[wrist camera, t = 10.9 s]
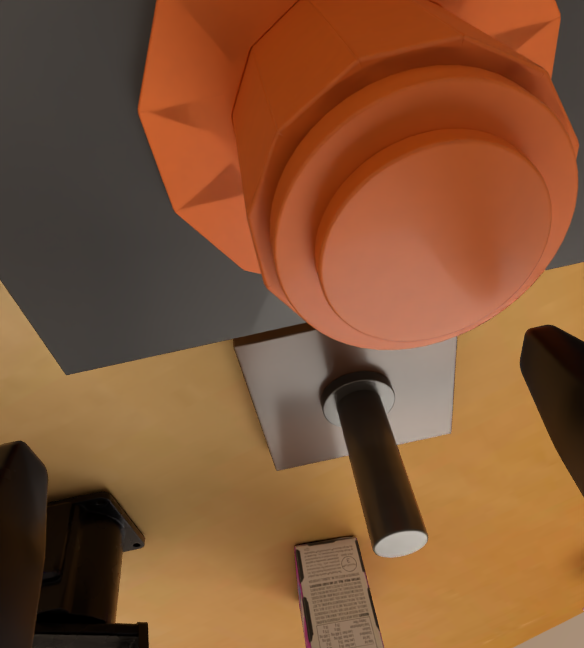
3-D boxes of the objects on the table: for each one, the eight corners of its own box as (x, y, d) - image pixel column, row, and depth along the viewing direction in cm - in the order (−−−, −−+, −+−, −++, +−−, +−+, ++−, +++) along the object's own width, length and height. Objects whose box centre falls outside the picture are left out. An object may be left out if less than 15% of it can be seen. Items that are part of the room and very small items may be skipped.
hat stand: (444, 416, 30) (513, 570, 24) (274, 453, 30) (295, 617, 24) (450, 280, 23) (549, 443, 17) (232, 328, 24) (245, 508, 17)
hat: (519, 236, 17) (649, 388, 12) (210, 304, 17) (216, 482, 12) (583, -207, 10) (946, -272, 5) (69, -88, 10) (-49, -42, 5)
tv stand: (609, 189, 21) (676, 242, 18) (83, 305, 22) (65, 376, 19) (756, -361, 12) (941, -435, 9) (-177, -146, 12) (-296, -147, 9)
